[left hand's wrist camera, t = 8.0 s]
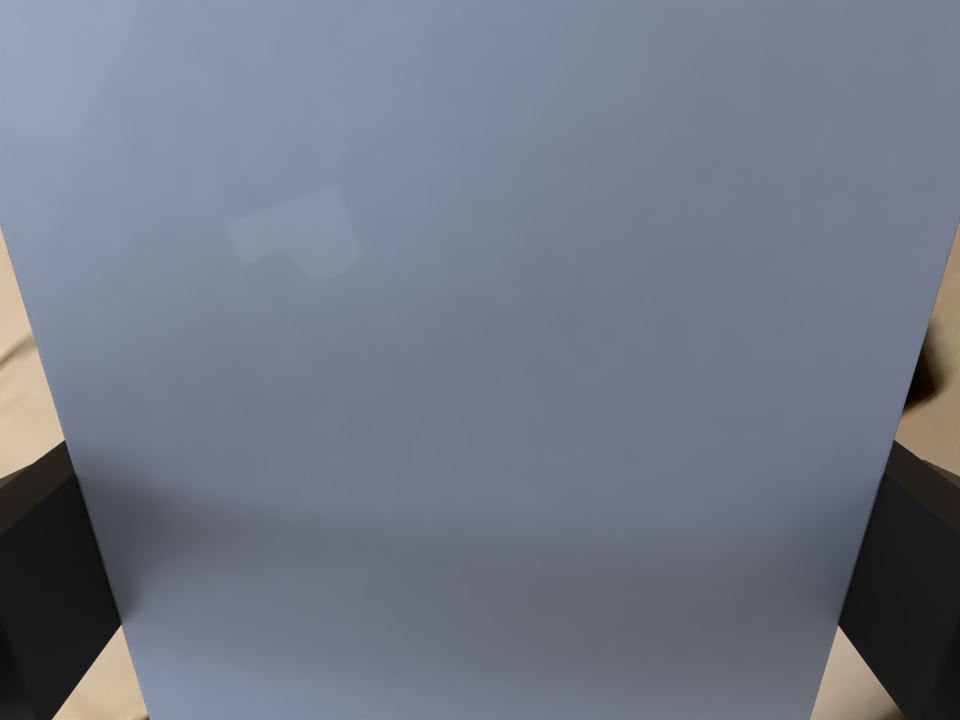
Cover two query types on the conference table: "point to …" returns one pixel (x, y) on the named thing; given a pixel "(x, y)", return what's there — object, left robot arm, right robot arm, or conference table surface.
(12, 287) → the conference table surface
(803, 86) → the cabinet
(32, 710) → the left robot arm
